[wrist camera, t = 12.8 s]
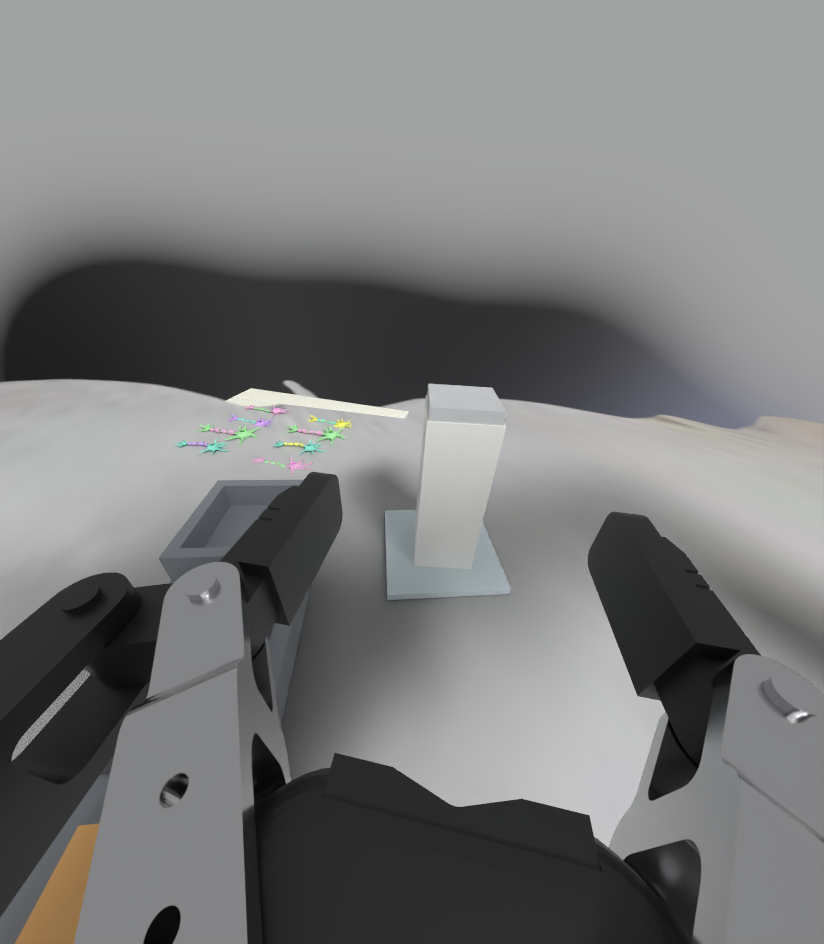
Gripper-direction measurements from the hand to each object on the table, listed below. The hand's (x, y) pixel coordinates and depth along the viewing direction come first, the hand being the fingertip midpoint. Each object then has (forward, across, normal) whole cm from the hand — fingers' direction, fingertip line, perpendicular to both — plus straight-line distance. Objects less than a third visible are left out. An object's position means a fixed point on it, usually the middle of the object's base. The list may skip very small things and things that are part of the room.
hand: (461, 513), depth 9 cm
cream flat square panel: (+26, +24, +14) cm, 38 cm away
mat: (+11, 0, +14) cm, 17 cm away
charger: (+10, 0, +13) cm, 17 cm away
